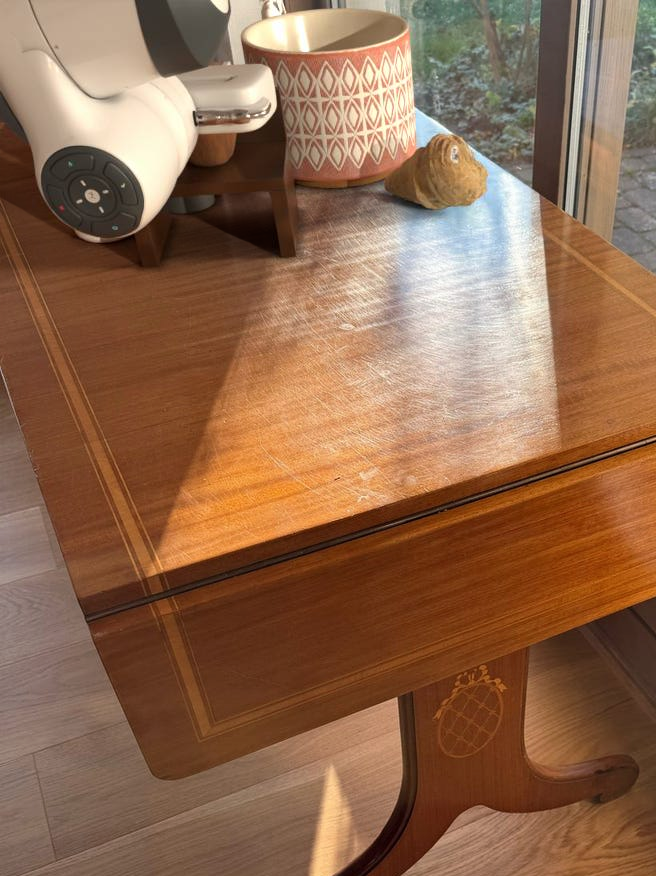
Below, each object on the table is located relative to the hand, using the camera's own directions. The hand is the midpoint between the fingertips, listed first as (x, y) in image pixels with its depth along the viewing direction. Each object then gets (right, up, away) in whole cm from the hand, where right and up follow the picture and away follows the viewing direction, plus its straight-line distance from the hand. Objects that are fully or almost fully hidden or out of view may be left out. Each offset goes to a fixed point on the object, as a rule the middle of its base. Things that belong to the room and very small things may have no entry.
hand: (173, 72), depth 91 cm
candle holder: (-6, -1, +24) cm, 25 cm away
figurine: (0, +17, +42) cm, 46 cm away
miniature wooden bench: (0, -9, +17) cm, 19 cm away
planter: (+11, +7, +32) cm, 34 cm away
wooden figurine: (0, -3, +11) cm, 12 cm away
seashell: (+24, -3, +22) cm, 32 cm away
